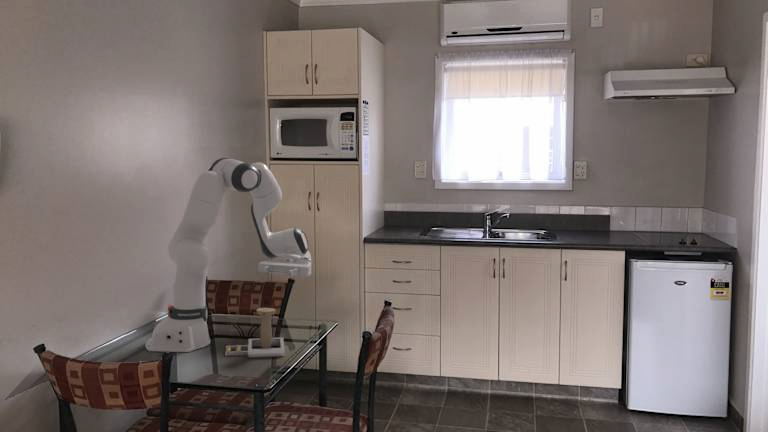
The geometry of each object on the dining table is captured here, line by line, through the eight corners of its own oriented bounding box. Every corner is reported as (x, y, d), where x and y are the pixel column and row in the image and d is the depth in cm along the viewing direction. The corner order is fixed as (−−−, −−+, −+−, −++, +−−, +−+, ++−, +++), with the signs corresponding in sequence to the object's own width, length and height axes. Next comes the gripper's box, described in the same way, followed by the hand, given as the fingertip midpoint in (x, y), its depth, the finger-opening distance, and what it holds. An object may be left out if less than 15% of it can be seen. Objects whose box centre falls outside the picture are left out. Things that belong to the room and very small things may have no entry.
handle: (273, 353, 231) (273, 312, 229) (255, 352, 231) (255, 311, 229) (276, 348, 235) (276, 308, 233) (259, 347, 236) (259, 307, 234)
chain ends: (224, 358, 225) (224, 351, 224) (226, 346, 237) (226, 339, 236) (284, 356, 228) (284, 348, 228) (283, 344, 240) (283, 337, 240)
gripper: (265, 255, 261) (251, 261, 247) (315, 259, 257) (303, 265, 243) (265, 270, 261) (251, 278, 248) (314, 274, 258) (303, 282, 244)
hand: (278, 272), depth 246 cm, fingers open, 8 cm apart
